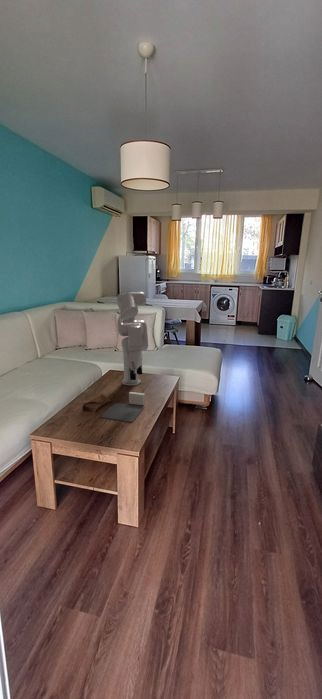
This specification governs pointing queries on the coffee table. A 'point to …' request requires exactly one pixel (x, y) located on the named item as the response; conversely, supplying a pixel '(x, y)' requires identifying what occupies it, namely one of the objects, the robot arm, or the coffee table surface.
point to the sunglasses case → (96, 403)
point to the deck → (137, 398)
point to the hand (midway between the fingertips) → (136, 377)
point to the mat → (122, 412)
